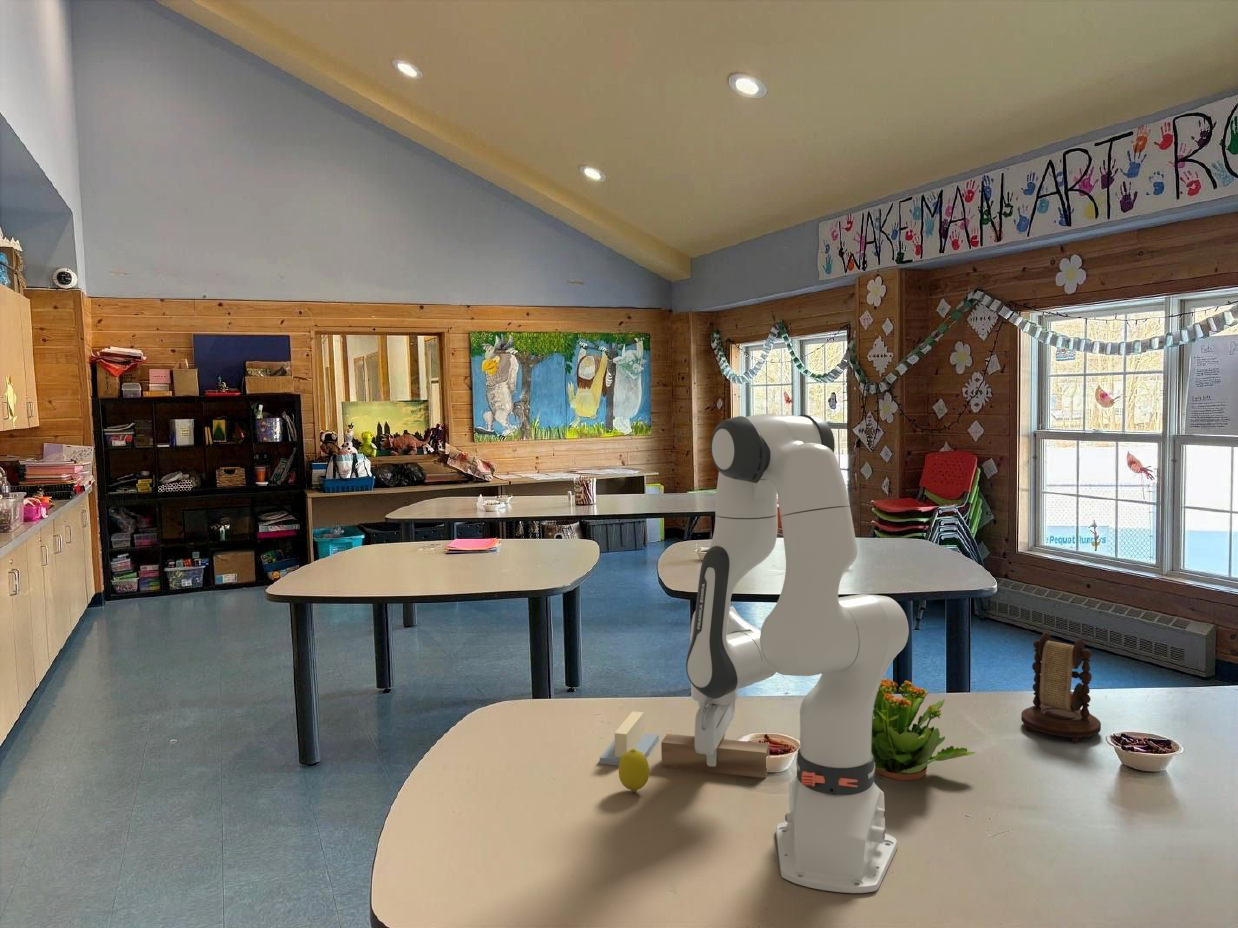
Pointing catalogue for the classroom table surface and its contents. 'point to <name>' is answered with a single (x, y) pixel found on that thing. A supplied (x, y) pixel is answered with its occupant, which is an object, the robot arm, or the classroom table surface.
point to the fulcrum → (629, 740)
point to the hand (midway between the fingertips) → (715, 758)
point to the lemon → (633, 770)
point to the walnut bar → (730, 756)
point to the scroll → (1061, 691)
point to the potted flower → (906, 733)
